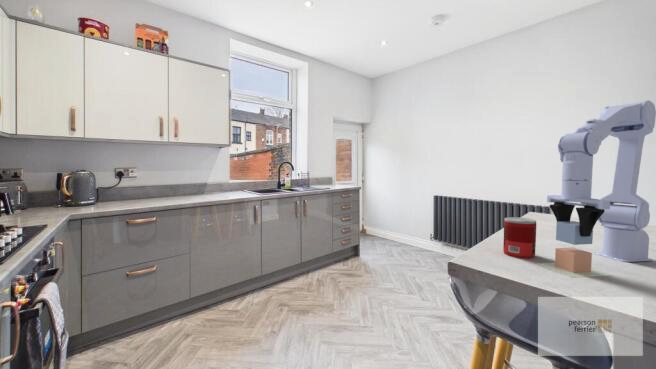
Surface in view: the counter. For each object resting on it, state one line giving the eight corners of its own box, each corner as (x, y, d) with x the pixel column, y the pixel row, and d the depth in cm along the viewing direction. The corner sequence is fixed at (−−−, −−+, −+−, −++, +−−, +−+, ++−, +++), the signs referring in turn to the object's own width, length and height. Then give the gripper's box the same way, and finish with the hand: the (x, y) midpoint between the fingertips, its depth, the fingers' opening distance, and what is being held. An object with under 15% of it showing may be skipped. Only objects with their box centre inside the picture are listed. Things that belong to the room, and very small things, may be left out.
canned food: (540, 260, 82) (541, 222, 81) (509, 258, 83) (510, 221, 83) (527, 252, 89) (528, 217, 89) (499, 251, 91) (500, 216, 90)
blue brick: (572, 239, 76) (573, 221, 76) (592, 243, 71) (593, 224, 71) (555, 239, 76) (556, 221, 76) (574, 244, 71) (575, 225, 71)
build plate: (572, 262, 80) (572, 261, 80) (612, 276, 70) (612, 275, 70) (536, 264, 78) (536, 263, 78) (572, 278, 68) (572, 277, 68)
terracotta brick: (571, 265, 77) (572, 247, 77) (590, 271, 72) (591, 252, 72) (554, 266, 76) (555, 248, 76) (573, 272, 71) (573, 253, 71)
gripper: (538, 179, 79) (536, 228, 80) (592, 181, 65) (589, 241, 66) (560, 179, 80) (558, 227, 81) (619, 181, 66) (616, 240, 67)
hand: (574, 233), depth 74 cm, fingers closed on blue brick, 5 cm apart
